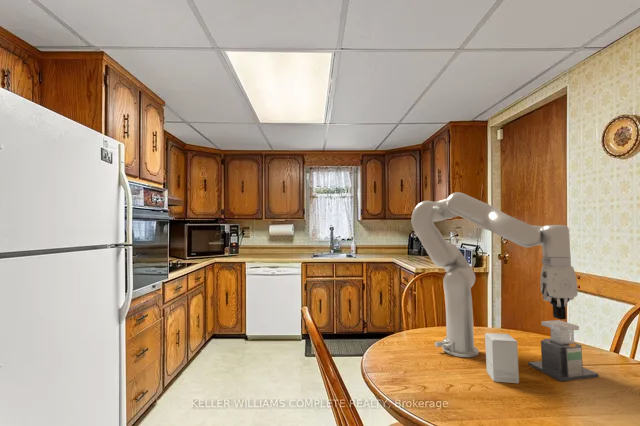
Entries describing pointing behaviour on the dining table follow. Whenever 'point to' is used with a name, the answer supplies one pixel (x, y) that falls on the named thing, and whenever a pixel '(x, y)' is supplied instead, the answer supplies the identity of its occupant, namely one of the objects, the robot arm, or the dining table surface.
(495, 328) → the dining table surface
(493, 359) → the supplement box
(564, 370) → the tester
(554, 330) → the grey flanged block
